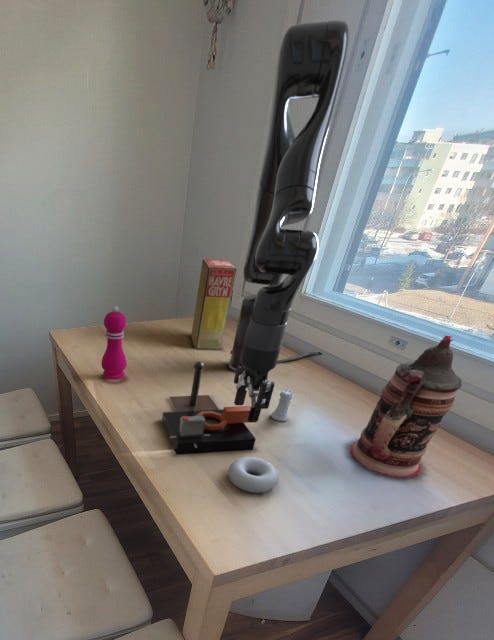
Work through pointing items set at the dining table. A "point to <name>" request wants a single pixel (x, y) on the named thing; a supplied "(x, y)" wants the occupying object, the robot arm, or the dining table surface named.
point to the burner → (214, 421)
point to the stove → (208, 436)
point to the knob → (191, 427)
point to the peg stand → (194, 395)
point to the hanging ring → (227, 416)
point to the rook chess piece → (283, 406)
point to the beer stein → (408, 413)
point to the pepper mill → (114, 345)
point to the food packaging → (212, 303)
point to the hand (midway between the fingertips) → (245, 412)
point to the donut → (250, 482)
